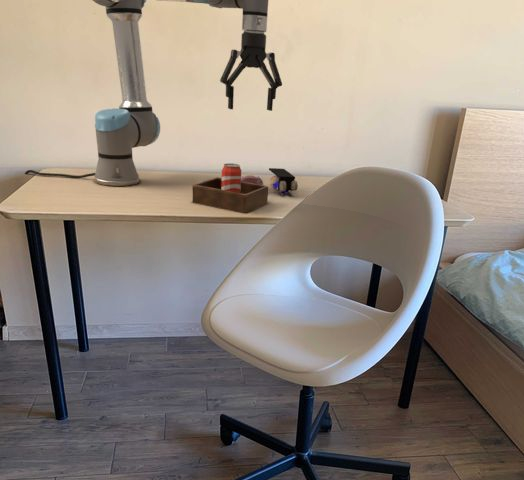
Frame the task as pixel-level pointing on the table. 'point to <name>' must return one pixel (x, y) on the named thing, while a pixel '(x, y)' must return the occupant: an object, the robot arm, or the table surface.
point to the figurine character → (283, 181)
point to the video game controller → (252, 179)
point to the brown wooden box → (230, 195)
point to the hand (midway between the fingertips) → (250, 109)
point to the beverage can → (231, 178)
